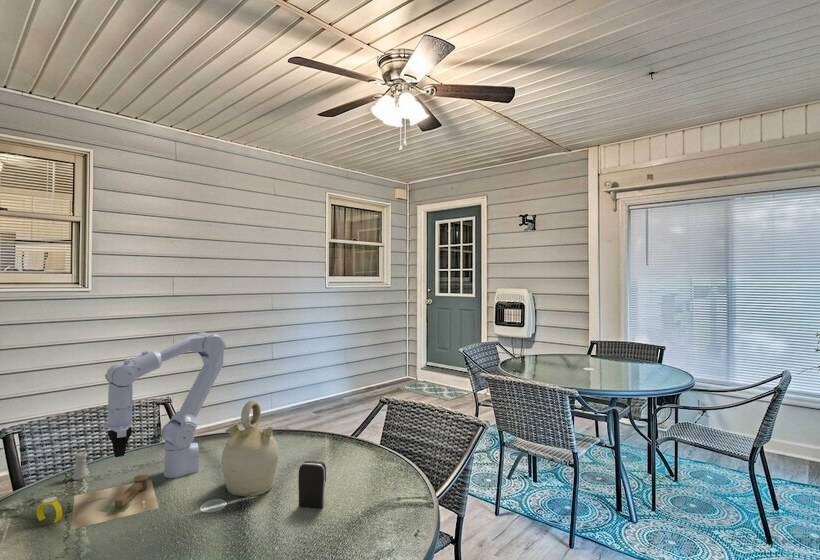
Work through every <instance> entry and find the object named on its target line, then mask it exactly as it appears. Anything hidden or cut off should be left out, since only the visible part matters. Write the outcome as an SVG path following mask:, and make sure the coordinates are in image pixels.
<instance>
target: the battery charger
mask: <svg viewBox="0 0 820 560" xmlns="http://www.w3.org/2000/svg"><path fill="white" fill-rule="evenodd" d="M297 479H298V507H300V508H306V507H311V508H310V509H323V508H324V506H325V485H326V484H325V483H326V482H327V466H326V464H325V463H324V462H322V461H313V460H312V461H311V460H306V461H304V462H303V463H302V464H301V465H300V466H299V467H298V478H297ZM322 507H323V508H322Z"/></svg>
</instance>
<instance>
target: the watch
mask: <svg viewBox="0 0 820 560" xmlns="http://www.w3.org/2000/svg"><path fill="white" fill-rule="evenodd" d="M46 505H51V506H53V508H54V510H55V516H56V517H55V519H54V521H53V524H54V523H57V522H59V521H60V520H61V519H62V517H63V508H62V507H63V506H61V503H60V502H59V501H58V497H57V496H50V497H47V498H44V499H43V500H42V501H41V503H40V504H39V505H38V507H37V509H36V517H37V520H38V521H40V522H41V521H43V520H45V519H46V516H45V514H44V507H45V506H46Z"/></svg>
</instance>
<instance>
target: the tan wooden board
mask: <svg viewBox="0 0 820 560" xmlns="http://www.w3.org/2000/svg"><path fill="white" fill-rule="evenodd" d="M133 483H134V482H132V483H128V484H123V485H118V486H114V487H108V488H104V489H100V490H99V489H98V490H95V491H90V492H86V493H81V494H77V495H74V497H73V505H72V515H71V516H72V517H71V523H70V525H71V526H70V530H71V531H73V530H76V529H77V530H78V529H80V528H85V527H88V526H89V527H90V526H93V525H97V524H101V523H104V522H109V521H112V520H116V519H121V518H125V517H129V516H134V515H138V514H141V513H145V512H150V511H153V510H157V509H159V507H160V506H159V503H158V499H157V497H156V496H157V495H156V493H155V488H154V486H153V485H154V484H153V482H152V479H147V489H146V490H144V491H141V492H138V493H137V494H136V495H135V496H134V497H133V498H132V499H131V500H130V501H128V502H127V503H126V504H125V505H124V506H123V507H121V508H115V500H116V499H117V498H118V497H119V496H121V495H122V494H123V493H124V492H125V491H126V490H127V489H128V488H129V487H130V486H131V485H132V484H133Z"/></svg>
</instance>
